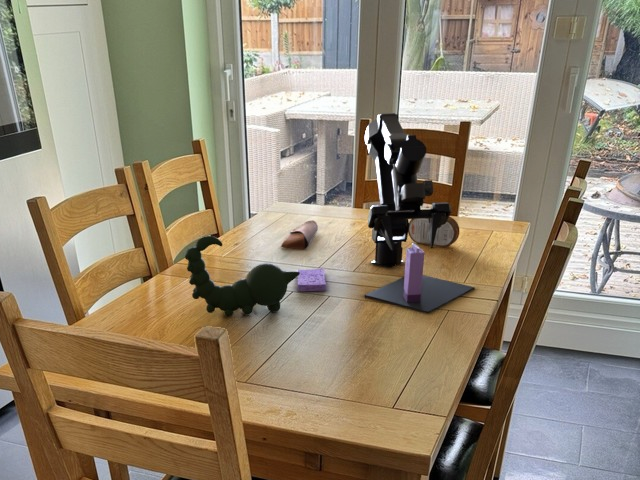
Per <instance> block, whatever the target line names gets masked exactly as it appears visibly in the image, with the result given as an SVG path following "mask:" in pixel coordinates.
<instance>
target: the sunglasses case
mask: <svg viewBox="0 0 640 480" xmlns="http://www.w3.org/2000/svg"><path fill="white" fill-rule="evenodd" d="M318 231H319V225H318V223H317V222H316V220H313V219H312V220H308V221H305V222H302V223H301V224H299V225H297V226H296V227H294V228H292V229H291V230H290V231H289V233H288V235H287V236H286V238H285V239H284V240H283V241H282V243H281V246H280V247H281V248H282V249H288V250H296V251H297V250H298V251H304V250H306V249H307V248H308V247H309V246H310V244H311V242H312V240H313V238H314V237H315V235H316V234H317V232H318Z"/></svg>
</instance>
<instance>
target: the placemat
mask: <svg viewBox="0 0 640 480" xmlns="http://www.w3.org/2000/svg"><path fill="white" fill-rule="evenodd" d="M404 277H405V276H403V277H401V278H398V279H396V280H394V281H392V282H390V283H388V284H385V285H383V286H381V287H378V288H377V289H374V290H372V291H370V292H368V293H366V294H364V298H368V299H372V300H374V301H375V300H376V301H379V302H383V303H387V304H390V305H394V306H398V307H402V308H405V309H409V310H413V311H417V312H420V313H424V314H428V315H429V314H430V313H432V312H434V311H436V310H438V309H440V308H442V307H444V306H446V305H447V304H449V303H451V302H453V301H455V300H457V299H458V298H460V297H462V296H464V295H467V294H468V293H470V292H472V291H474V290H475V286H471V285H467V284H462V283H458V282H454V281H449V280H445V279H442V278H437V277H433V276H429V275H424V274H423V277H422V288H421V300H420V302H406V300H405V298H404V297H403V290H404Z"/></svg>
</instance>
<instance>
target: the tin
mask: <svg viewBox="0 0 640 480" xmlns="http://www.w3.org/2000/svg"><path fill="white" fill-rule="evenodd" d="M409 223H410V227H409V230H408V236H409V238H410V239H411V241H413V243H415V244H418V245H424V246H425V245H426V246H430V244H429V232H428V226H429V224H430V223H429V221H428V218H423V219H409ZM459 236H460V226H459V224H458V222H457V220H456V219H454V218H453V217H452V216H449V218H448V220H447V222H446V224H444V225H442V226H441V227H440V228H437V232H436V236H435V241H434V245H433V247H438V248H447V247H450V246H451V245H453V244H454V243H455V242H456V241H457V240H458V239H459Z"/></svg>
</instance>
